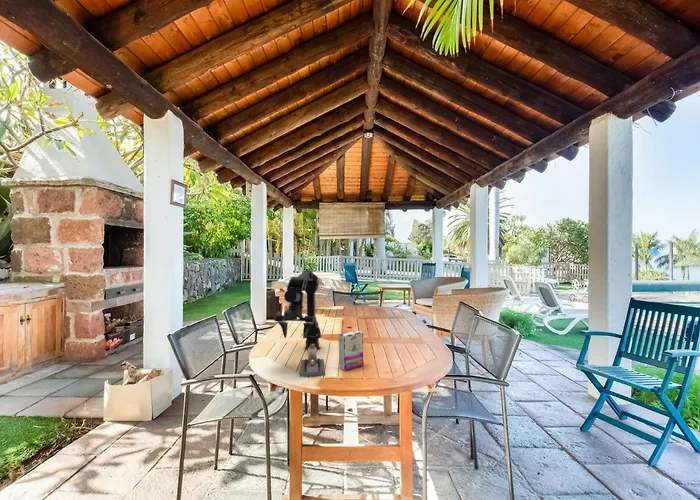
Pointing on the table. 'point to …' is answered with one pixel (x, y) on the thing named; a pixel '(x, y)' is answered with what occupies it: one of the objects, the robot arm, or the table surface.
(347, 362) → the candy bar box
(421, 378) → the table surface
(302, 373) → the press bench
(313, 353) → the lever
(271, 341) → the table surface
